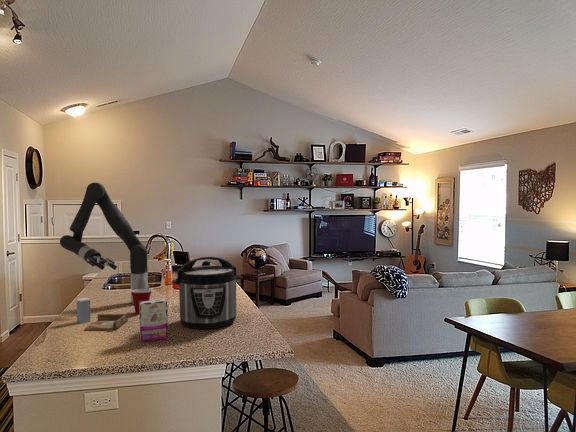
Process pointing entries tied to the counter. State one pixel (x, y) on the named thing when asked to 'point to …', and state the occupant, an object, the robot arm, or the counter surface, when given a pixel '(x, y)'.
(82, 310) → the block
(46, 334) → the counter surface
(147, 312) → the candy bar box
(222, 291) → the pressure cooker
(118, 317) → the shallow wooden tray
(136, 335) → the counter surface
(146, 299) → the plastic cup
